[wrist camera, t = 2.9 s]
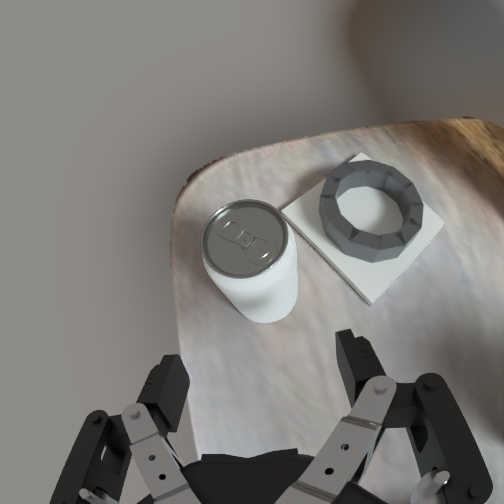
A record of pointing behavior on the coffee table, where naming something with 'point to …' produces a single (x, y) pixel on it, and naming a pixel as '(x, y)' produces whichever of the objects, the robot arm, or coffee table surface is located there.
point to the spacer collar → (361, 241)
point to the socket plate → (366, 219)
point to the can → (252, 259)
